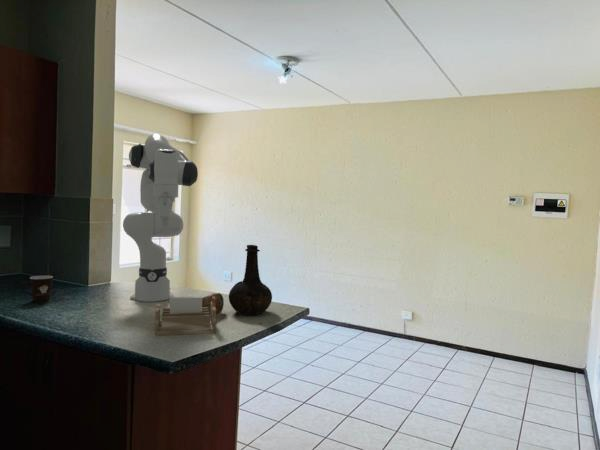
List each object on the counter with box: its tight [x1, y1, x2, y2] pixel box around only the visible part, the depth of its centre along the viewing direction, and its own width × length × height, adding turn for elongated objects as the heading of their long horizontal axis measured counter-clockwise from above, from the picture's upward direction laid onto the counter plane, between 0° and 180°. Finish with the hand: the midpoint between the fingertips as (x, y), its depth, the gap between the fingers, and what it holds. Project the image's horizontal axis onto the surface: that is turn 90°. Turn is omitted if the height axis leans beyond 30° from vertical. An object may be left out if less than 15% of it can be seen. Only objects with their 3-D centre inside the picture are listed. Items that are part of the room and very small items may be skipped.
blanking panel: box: [169, 295, 203, 313], centre depth 158 cm, size 2×11×10 cm, turn 105°
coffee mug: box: [19, 275, 54, 303], centre depth 192 cm, size 12×9×10 cm
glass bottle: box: [228, 244, 273, 316], centre depth 184 cm, size 18×18×28 cm
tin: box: [202, 292, 225, 316], centre depth 177 cm, size 15×3×8 cm, turn 160°
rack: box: [154, 296, 217, 336], centre depth 158 cm, size 13×20×11 cm, turn 105°
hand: (165, 229), depth 168 cm, fingers closed
